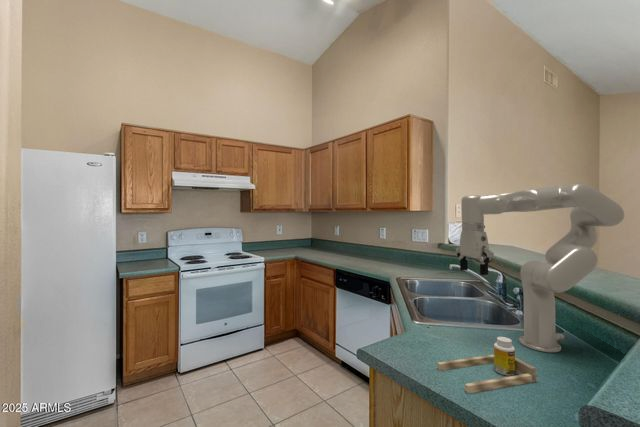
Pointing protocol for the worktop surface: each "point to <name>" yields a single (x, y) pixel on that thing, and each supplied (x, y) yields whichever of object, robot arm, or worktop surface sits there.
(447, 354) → the worktop surface
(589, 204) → the robot arm
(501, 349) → the supplement bottle
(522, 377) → the wooden frame
